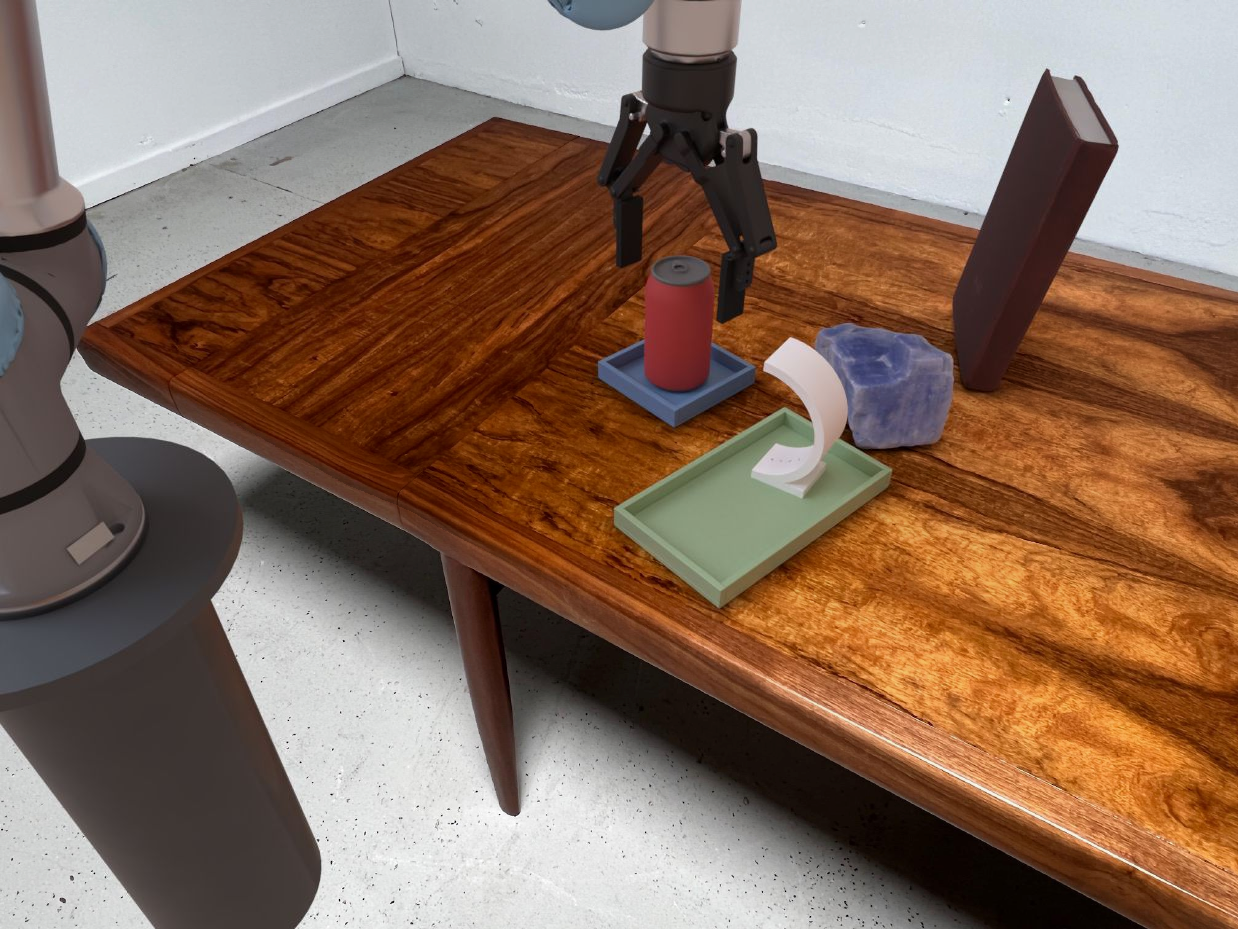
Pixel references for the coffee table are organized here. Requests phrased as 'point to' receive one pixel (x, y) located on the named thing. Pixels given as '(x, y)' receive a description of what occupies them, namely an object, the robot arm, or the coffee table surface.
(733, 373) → the blue tray
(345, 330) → the coffee table surface
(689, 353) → the beer can
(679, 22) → the robot arm
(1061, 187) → the book
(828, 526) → the green tray
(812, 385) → the headphone stand
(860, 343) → the mineral
